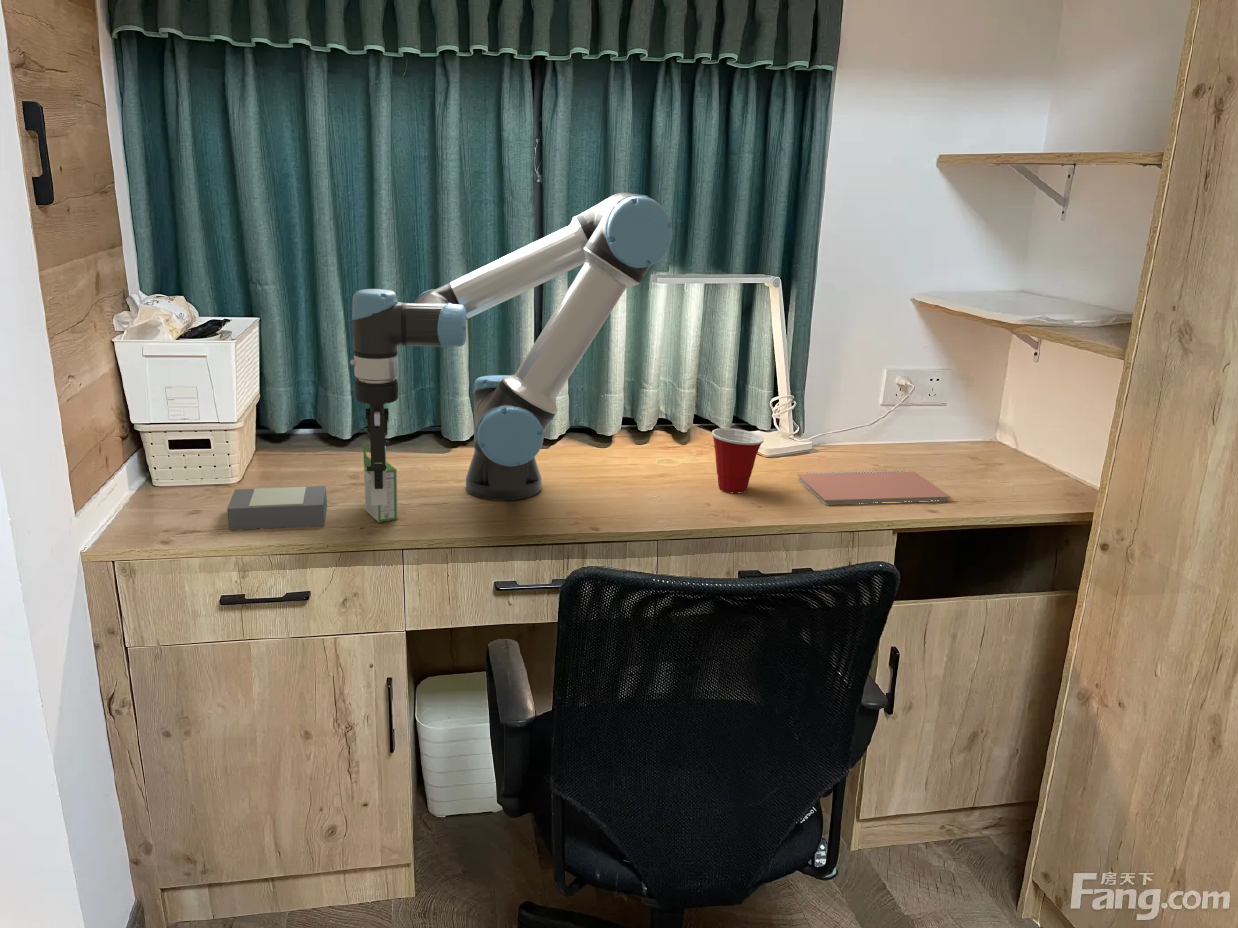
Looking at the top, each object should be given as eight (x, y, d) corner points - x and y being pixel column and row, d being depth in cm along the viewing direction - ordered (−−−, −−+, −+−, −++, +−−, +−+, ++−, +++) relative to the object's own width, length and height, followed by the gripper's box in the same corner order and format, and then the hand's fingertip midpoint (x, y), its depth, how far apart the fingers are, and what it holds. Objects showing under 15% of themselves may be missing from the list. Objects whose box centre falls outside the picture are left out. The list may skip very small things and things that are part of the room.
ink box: (398, 519, 178) (396, 449, 174) (377, 523, 176) (375, 452, 172) (385, 507, 183) (383, 439, 179) (364, 510, 181) (361, 442, 177)
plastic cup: (769, 495, 199) (775, 438, 195) (723, 500, 195) (727, 443, 191) (743, 478, 208) (748, 424, 204) (698, 483, 204) (702, 428, 200)
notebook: (911, 477, 215) (912, 468, 214) (949, 504, 199) (950, 495, 199) (794, 480, 210) (795, 471, 209) (824, 508, 194) (825, 498, 194)
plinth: (327, 505, 183) (325, 484, 182) (324, 525, 174) (323, 503, 172) (236, 509, 179) (234, 488, 178) (229, 530, 170) (227, 507, 169)
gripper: (355, 363, 182) (359, 470, 189) (352, 396, 159) (356, 516, 166) (396, 363, 184) (398, 469, 191) (399, 395, 161) (401, 515, 168)
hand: (379, 491), depth 178 cm, fingers open, 13 cm apart
